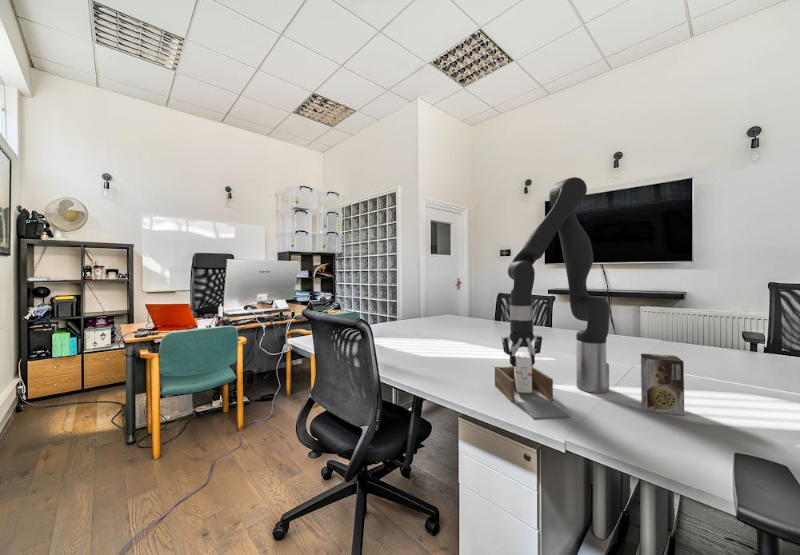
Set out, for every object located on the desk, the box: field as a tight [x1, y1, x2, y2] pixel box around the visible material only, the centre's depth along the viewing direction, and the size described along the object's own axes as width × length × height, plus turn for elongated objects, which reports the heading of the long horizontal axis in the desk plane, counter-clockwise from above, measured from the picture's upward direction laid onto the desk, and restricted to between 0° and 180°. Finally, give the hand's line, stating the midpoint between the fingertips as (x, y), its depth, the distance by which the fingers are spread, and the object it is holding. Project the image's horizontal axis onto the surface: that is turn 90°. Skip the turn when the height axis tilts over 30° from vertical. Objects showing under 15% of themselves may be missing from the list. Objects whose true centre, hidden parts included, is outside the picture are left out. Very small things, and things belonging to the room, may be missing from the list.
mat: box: [516, 400, 571, 420], centre depth 98 cm, size 11×11×1 cm
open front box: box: [494, 365, 554, 403], centre depth 112 cm, size 14×15×7 cm
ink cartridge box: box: [514, 347, 533, 394], centre depth 112 cm, size 9×5×15 cm, turn 168°
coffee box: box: [640, 353, 685, 416], centre depth 97 cm, size 9×6×16 cm
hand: (522, 365), depth 112 cm, fingers closed on ink cartridge box, 5 cm apart
